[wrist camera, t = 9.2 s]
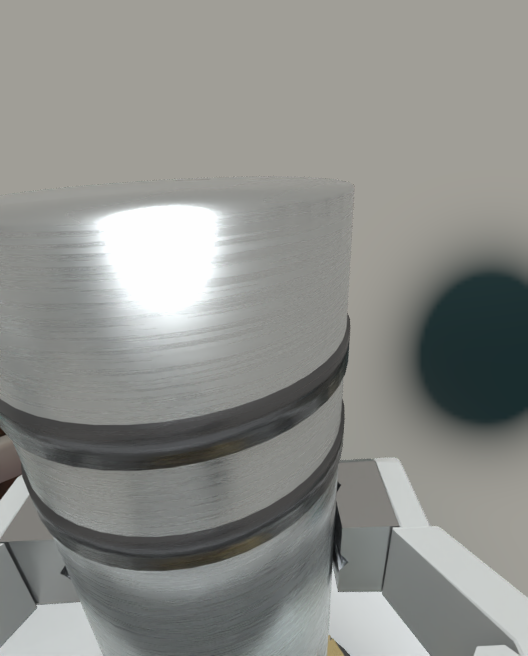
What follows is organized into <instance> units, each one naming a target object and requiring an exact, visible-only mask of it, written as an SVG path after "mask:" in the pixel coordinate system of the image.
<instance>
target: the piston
mask: <svg viewBox="0 0 528 656" xmlns="http://www.w3.org/2000/svg"><path fill="white" fill-rule="evenodd" d="M354 187H355V186H354V184H352V183H350V182H346V181H342V180H336V179H326V178H312V177H271V176H270V177H269V176H268V177H214V178H191V179H190V178H189V179H171V180H170V179H169V180H152V181H136V182H123V183H109V184H97V185H86V186H75V187H64V188H56V189H45V190H37V191H28V192H20V193H12V194H5V195H0V427H1V429H2V430H3V431H4V432H5V433H6V435H7V436H8V437H9V438H10V440H12V441H13V444H14V446H15V449H16V451H17V453H18V456H19V458H20V460H21V470H22V477H23V480H24V482H25V485H26V487H27V490H28V492H29V495H30V497H31V499H32V501H33V504H34V506H35V508H36V511H37V513H38V515H39V518H40V520H41V521H42V523H43V524H44V525H45V527H46V528H47V530H48V531H49V532H50V534H51V535H52V536H53V538H54V541H55V543H56V545H57V548H58V550H59V552H60V555H61V557H62V559H63V562H64V564H65V567H66V569H67V571H68V574H69V576H70V578H71V581H72V583H73V585H74V588H75V590H76V592H77V595H78V597H79V600H80V602H81V604H82V607H83V609H84V611H85V614H86V616H87V618H88V621H89V623H90V626H91V628H92V630H93V633H94V635H95V637H96V640H97V642H98V644H99V647H100V649H101V651H102V654H103V656H327V648H328V631H329V614H330V597H331V580H332V563H333V546H334V529H335V512H336V495H337V478H338V464H339V462H340V458H341V452H342V447H343V433H344V403H343V399H342V393H343V377H344V375H345V372H346V368H347V364H348V356H349V340H350V319H349V316H348V313H347V308H348V290H349V273H350V258H351V241H352V224H353V223H352V222H353V206H354V190H355V188H354Z"/></svg>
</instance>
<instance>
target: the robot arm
mask: <svg viewBox="0 0 528 656" xmlns="http://www.w3.org/2000/svg"><path fill="white" fill-rule="evenodd" d="M333 568H334V574H335V579H336V584H337V589H338V592H382V595H383V596H384V597H385V598H386V600H387V601H388V602H389V604H390V605H391V606H392V607H393V609H394V610H395V611H396V612H397V614H398V615H399V616H400V618H401V619H402V620H403V621H404V623H405V624H406V625H407V626H408V628H409V629H410V630H411V631H412V633H413V634H414V635H415V637H416V638H417V639H418V640H419V642H420V643H421V644H422V645H423V647H424V648H425V649H426V651H427V652H428V653H429V654H430V656H528V598H527V597H526V596H525V595H524V594H522V593H521V592H520V591H519V590H517V589H516V588H515V587H514V586H512V585H511V584H510V583H509V582H508V581H506V580H505V579H504V578H503V577H501V576H500V575H499V574H497V573H496V572H495V571H494V570H493V569H491V568H490V567H489V566H487V565H486V564H485V563H484V562H483V561H481V560H480V559H479V558H478V557H476V556H475V555H474V554H473V553H471V552H470V551H469V550H468V549H466V548H465V547H464V546H463V545H461V544H460V543H459V542H458V541H456V540H455V539H454V538H453V537H452V536H450V535H449V534H448V533H446V532H445V531H444V530H442V528H440V527H439V526H430V524H429V522H428V520H427V517H426V515H425V513H424V511H423V509H422V507H421V505H420V502H419V500H418V498H417V496H416V494H415V492H414V490H413V487H412V485H411V484H410V481H409V479H408V477H407V475H406V473H405V470H404V468H403V466H402V464H401V462H400V460H399V459H398V458H396V457H395V458H376V459H375V458H373V459H353V460H340V462H339V464H338V478H337V495H336V512H335V529H334V546H333ZM74 602H80V600H79V597H78V595H77V592H76V590H75V588H74V585H73V583H72V581H71V578H70V576H69V574H68V571H67V569H66V567H65V564H64V562H63V559H62V557H61V555H60V552H59V550H58V548H57V545H56V543H55V541H54V538H53V536H52V535H51V534H50V532H49V531H48V530H47V528H46V527H45V525H44V524H43V523H42V521H41V520H40V518H39V515H38V513H37V511H36V508H35V506H34V504H33V501H32V499H31V497H30V495H29V492H28V490H27V487H26V485H25V482H24V480H23V477H22V475H20V476H19V477H18V478H17V479H16V480H15V481H14V483H13V484H12V485H11V487H10V488H9V489H8V491H7V492H6V493H5V495H4V496H3V497H2V499H1V500H0V647H1V646H2V645H3V644H4V643H5V642H6V641H7V640H8V639H9V638H10V637H11V636H12V634H13V633H14V632H15V631H16V630H17V629H18V628H19V627H20V626H21V625H22V624H23V623H24V621H25V620H26V619H27V618H28V617H29V616H30V615H31V614H32V613H33V612H34V611H35V610H36V609H37V606H36V605H45V604H59V603H74Z"/></svg>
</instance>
